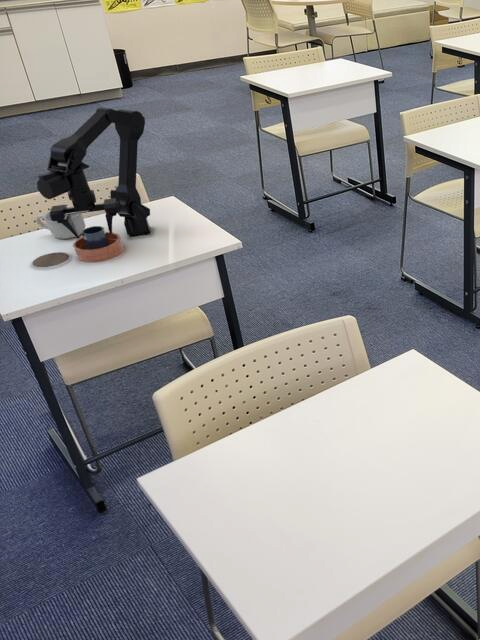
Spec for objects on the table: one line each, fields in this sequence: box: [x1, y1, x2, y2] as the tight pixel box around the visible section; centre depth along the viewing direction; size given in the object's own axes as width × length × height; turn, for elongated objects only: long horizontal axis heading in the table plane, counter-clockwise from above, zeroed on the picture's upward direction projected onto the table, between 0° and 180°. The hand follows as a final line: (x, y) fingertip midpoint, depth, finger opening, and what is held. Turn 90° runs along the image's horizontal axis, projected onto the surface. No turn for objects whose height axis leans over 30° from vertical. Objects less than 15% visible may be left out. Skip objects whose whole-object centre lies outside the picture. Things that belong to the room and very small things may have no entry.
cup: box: [81, 225, 110, 250], centre depth 214 cm, size 6×6×8 cm
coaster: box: [32, 251, 70, 268], centre depth 213 cm, size 10×10×1 cm
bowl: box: [72, 231, 125, 263], centre depth 216 cm, size 13×13×4 cm
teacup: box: [35, 206, 86, 240], centre depth 226 cm, size 14×11×8 cm
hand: (95, 235), depth 213 cm, fingers open, 9 cm apart
